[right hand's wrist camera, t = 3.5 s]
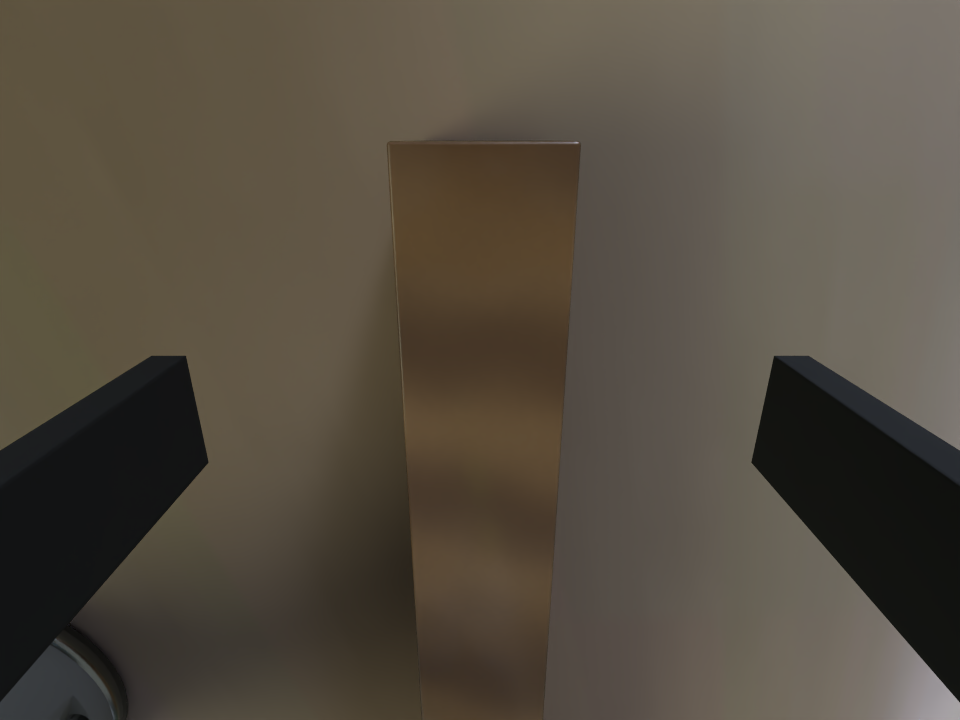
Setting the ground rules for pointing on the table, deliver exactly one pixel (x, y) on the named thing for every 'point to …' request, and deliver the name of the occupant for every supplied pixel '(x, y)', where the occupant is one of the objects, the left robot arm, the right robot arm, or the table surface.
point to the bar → (483, 408)
